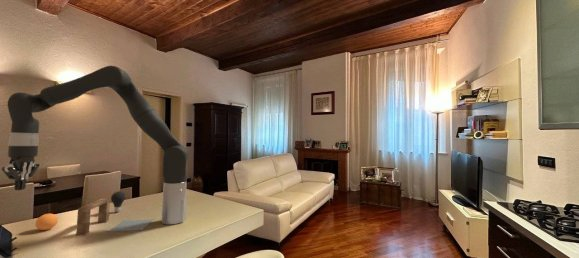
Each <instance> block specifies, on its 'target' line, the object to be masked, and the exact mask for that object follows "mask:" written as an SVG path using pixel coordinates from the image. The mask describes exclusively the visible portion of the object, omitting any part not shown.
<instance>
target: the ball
mask: <svg viewBox="0 0 579 258" xmlns="http://www.w3.org/2000/svg"><path fill="white" fill-rule="evenodd" d="M58 222H59V218H58V216H57V215H56V214H54V213H45V214H43V215H40V216H39V217H38V218H37V219H36V221H35V228H36V229H38V230H40V231H48V230H51V229H52V228H54V227H55V226H56V225H57V224H58Z"/></svg>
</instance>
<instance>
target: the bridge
mask: <svg viewBox="0 0 579 258" xmlns="http://www.w3.org/2000/svg"><path fill="white" fill-rule="evenodd" d="M110 202H111V197H109V198H108V197H107V198H104V197H103V198H100V199H98V200H95V201H93V202H90V203H88V204H86V205H84V206H81V207H79V208H77V216H76V217H77V218H76V220H77V221H76V229H75V232H76V233H75V235H76V236H83V235H84V236H85V235H87V234H89V233H90V225H91V224H90V222H91V210H93V209H95V208H97V207H98V216H97V217H98V218H97V223H98V224H101V223H108V222H109V220H110V219H109V218H110V206H111V205H110Z"/></svg>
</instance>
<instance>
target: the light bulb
mask: <svg viewBox="0 0 579 258" xmlns="http://www.w3.org/2000/svg"><path fill="white" fill-rule="evenodd" d="M125 199H126V194H125V192H124V191H115V192H114V193H113V194H112V195H111V196H110V202H111V203H112V204H113V207H114V209H113V210H114V212H116V213H119V212H121V210H122V205H123V203H124V201H125Z"/></svg>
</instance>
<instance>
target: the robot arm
mask: <svg viewBox="0 0 579 258" xmlns="http://www.w3.org/2000/svg"><path fill="white" fill-rule="evenodd" d="M102 88H109V89H112V90H113V91H114V92H116V94H118V96H119V97H120V98H121V99H122V100H123V101H124V103H125V104H126V106H127V109H128V112H129V113H130V117H131V118H132V119H133V121H134V122H135V123H136V124H137V126H138V127H139V128H140V129H141V131H142V132H144V133H145V134H146V135H147V136H148V137H150V138H151V139H152V140H153V141H154V142H155V143H156V144H158V145H159V147H160V148H161V150H162V151H163V153H164V154H163V159H162V177H163V187H162V190H163V191H162V205H161V206H162V209H161V224H164V225H175V224H176V225H177V224H181V223H184V221H186V219H187V206H188V197H187V180H188V175H187V162H188V161H189V158H190V157H189V156H190V155H189V154H190V153H189V151H188V149H187V148H186V147H185V146H184V145H183V144H182V143H181V142H180V141H179V140H178V139H177V138H176V137H175V136H174V134H173V133H172V132H171V130H170V129H169V127H168V126H167V124H166V123H165V121H164V120H163V119H162V117H161V115H160V114H159V113H158V112H157V110H156V109H155V108H154V106H152V105H151V103H150V102H149V101H148V100H147V99H146V97H144V96H143V94H142V93H141V92H140V90H139V89H138V88H137V87H136V85H135V83H134V81H133V79H132V77H131V76H130V75H129V74H128V72H126V71H125V70H123V69H122V68H121V67H118V66H115V65H107V66H103V67H101V68H99V69H97V70H95V71H92V72H90V73H88V74H85V75H83V76H80V77H78V78H76V79H72V80H69V81H65V82H62V83H58V84H55V85H51V86H48V87H45V88H42V89H41V90H40V92H39V93H38V94H30V93H27V92H26V93H25V92H16V93H13V94H11V95H10V96H9V97H8V100H7V109H8V113H9V117H10V119H11V129H10V134H9V139H8V147H7V148H8V149H7V157H8V158H10V160H9V161H8V165H6V166H3V167H1V171H2V172H3V173H4V174H5V176H6V177H7V178H8V179H9V180H12V181H14V186H13V187H14V190H15V191H22V190H25V189H26V188H27V187H26V186H27V180H29V178H32V177H33V176H34V174H35V173H36V172H37V171H38V169H39V167H40V164H39V163H36V162H35V161H36V160H35V158H36V157H38V153H39V143H40V138H39V137H40V136H39V132H40V131H39V129H40V121H39V120H38V119H37V118H35V117H34V116H33V113H40V112H44V111H46V110H48V109H50V108H53V107H54V106H56V105H60V104H63V103H66V102H69V101H72V100H76V99H77V98H80V97H82V96H83V95H85V94H86V93H88V92H91V91H93V90H96V89H102Z"/></svg>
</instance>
